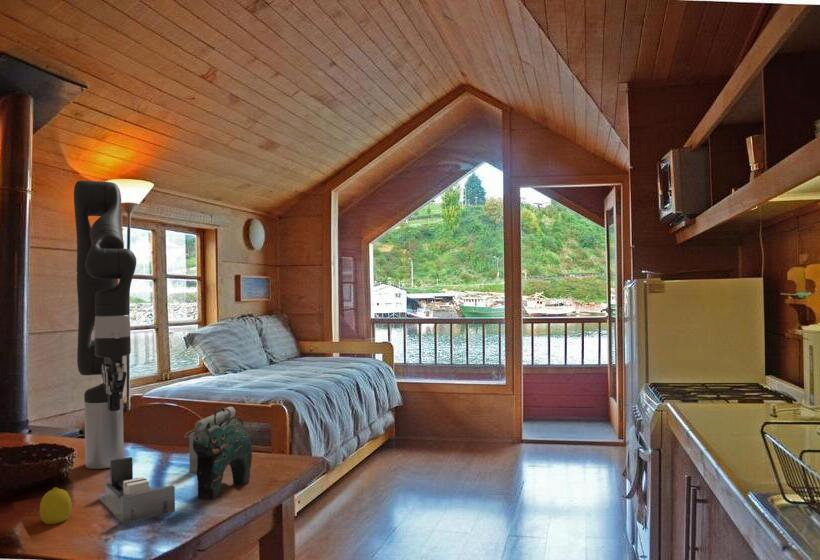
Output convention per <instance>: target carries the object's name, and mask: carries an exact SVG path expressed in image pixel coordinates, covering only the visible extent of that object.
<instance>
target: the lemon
mask: <svg viewBox="0 0 820 560" xmlns="http://www.w3.org/2000/svg"><path fill="white" fill-rule="evenodd" d="M39 504H40V505H39V516H40V519H41V521H42V522H43V523H44V524H45V525H56V524H60V523H64V522H65V521H67V520H68V518H69V517H70V515H71V514H72V513H71V512H72V506H73V505H72V504H73V503H72V499H71V497H70V494H69V493H68V492H67V491H66V490H65V489H62V488H58V487H56V486H55V487H53V488H52V489H50V490H48V491H47V492H46V493H45V494H44V495H43V496H42V498H41V500H40V503H39Z"/></svg>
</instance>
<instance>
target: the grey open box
mask: <svg viewBox="0 0 820 560" xmlns="http://www.w3.org/2000/svg"><path fill="white" fill-rule="evenodd" d="M136 478H137V477H135V478H134V477H133V479H136ZM175 487H176V486H174V485H173V484H171V485H167V486H163V487H158V488H152V487H151V486H149V490H148V491H143V492H138V493H134V494H129V495H124V496H123V495H122V494H121V493H120V492H119V491H118V490H117V489H115V488H114V487H113V486H112V485H111V484H110V483H109V482H108V483H105V484H104V495H103V496H97V498H98V499H99V501H101V503H102V504H103V505H104V506H105V507H106V508H107V509H108V510H109V511H110V512H111V513H112V514H113V515H114V516H115V518H116V519H118V521H120V522H121V524H122V525H124V524H127V523H128V524H129V523H132V522H136V521H140V520H143V519H149V518H154V517H156V516H161V515H165V514H169V513H173V512H174V513H175V512H176V503H175V502H176V497H175V496H176V494H175V493H176V492H175V490H176V488H175Z"/></svg>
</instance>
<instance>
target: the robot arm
mask: <svg viewBox="0 0 820 560" xmlns="http://www.w3.org/2000/svg"><path fill="white" fill-rule="evenodd" d="M73 208H74V221H75V230H76V290H77V292H76V293H77V305H78V306H77V309H78V311H77V312H78V321H77V322H78V324H77V325H78V326H77V327H78V328H77V352H76V353H77V354H76V355H77V356H76V358H77V359H76V360H77V361H76V362H77V363H76V364H77V369H78V372H79V374H80V375H82V376H97V375H98V376H99V375H101V378H102V383H100V384H98V385H96V386H93V387H90V388H88V389H86V390H85V392H84V394H83V401H84V440H85V441H84V443H85V444H84V447H85V449H84V451H85V452H84V453H85V455H84V457H85V468H87V469H89V470H90V469H92V470H100V469H107V468H109V469H110V461H111V460H117V459H122V458H125V452H124V448H125V447H124V403H123V402H124V399H123V396H124V395H123V393H124V388H125V385H126V379H127V375H128V374H127V371H125V363H124V359H123V358H124V357H126V356H129V355H130V354H131V352H132V349H131V348H132V347H131V341H132V339H131V321H130V315H129V312H130V308H129V307H130V306H129V304H130V303H129V300H130V299H129V297H130V290H131V286H132V285H131V284H132V281H133V277H134V274H135V272H136V271H135V270H136V267H137V257H136V255H135V254H134V252H133V251H132V250H131V249H129V248H125V242H124V238H123V234H122V228H121V227H122V195H121V190H120V188H119V185H118V184H117V183H115V182H112V181H111V182H110V181H96V180H95V181H94V180H78V181H76V183H75V184H74V188H73ZM89 217H98V218H97V219H96V220H95V221H94V222H93V224H92V225H91V224H90V221H89V220H90V219H89ZM116 280H118V284H117V282H116ZM116 284H117V285H116ZM93 331H94V339H92V333H93Z"/></svg>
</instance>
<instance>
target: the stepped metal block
mask: <svg viewBox="0 0 820 560" xmlns="http://www.w3.org/2000/svg"><path fill="white" fill-rule="evenodd" d="M109 471H110V472H109V478H110V484H111V485H112V486H113V487H114V488H115V489H117V490H118V491H119V492H120V493H121V494H122V495H123V496H124V494H123V481H127V480H131V479H134V477H133V475H134V474H133V457H131V456H128V457H124V458H122V459H117V460H111V461H110V468H109Z"/></svg>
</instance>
